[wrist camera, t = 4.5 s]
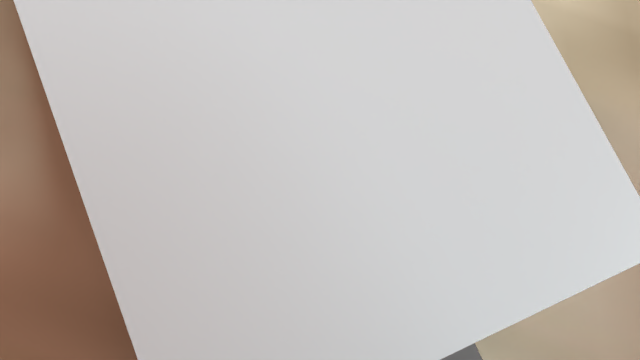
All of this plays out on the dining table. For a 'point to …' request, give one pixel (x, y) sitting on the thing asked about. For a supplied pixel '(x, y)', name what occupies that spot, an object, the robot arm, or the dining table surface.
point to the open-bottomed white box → (330, 171)
